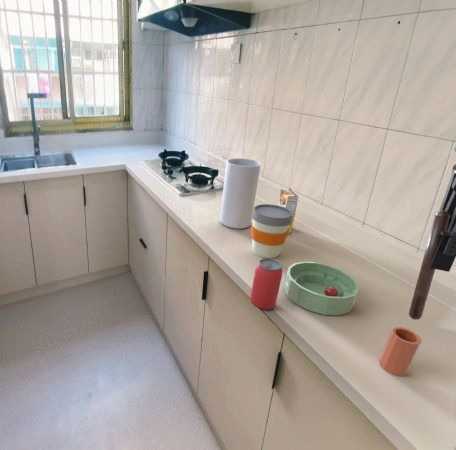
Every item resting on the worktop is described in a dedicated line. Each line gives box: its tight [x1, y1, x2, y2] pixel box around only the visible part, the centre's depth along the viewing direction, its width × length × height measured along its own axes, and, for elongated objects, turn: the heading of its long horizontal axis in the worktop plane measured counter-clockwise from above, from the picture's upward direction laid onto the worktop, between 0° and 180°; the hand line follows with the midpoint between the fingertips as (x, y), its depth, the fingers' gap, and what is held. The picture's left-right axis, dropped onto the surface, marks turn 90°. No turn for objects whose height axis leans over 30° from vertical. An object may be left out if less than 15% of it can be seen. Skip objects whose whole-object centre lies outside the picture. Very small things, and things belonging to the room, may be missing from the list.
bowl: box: [283, 261, 360, 317], centre depth 91 cm, size 17×17×6 cm
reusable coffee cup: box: [250, 203, 292, 259], centre depth 112 cm, size 12×13×15 cm
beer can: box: [249, 257, 283, 311], centre depth 87 cm, size 7×7×12 cm
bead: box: [324, 287, 338, 297], centre depth 90 cm, size 3×3×3 cm
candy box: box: [277, 188, 299, 234], centre depth 130 cm, size 9×4×15 cm, turn 177°
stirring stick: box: [408, 211, 450, 321], centre depth 61 cm, size 2×2×22 cm
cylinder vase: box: [219, 157, 262, 230], centre depth 132 cm, size 12×12×25 cm
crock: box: [378, 326, 422, 377], centre depth 68 cm, size 5×5×9 cm
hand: (437, 265), depth 60 cm, fingers closed on stirring stick, 2 cm apart
